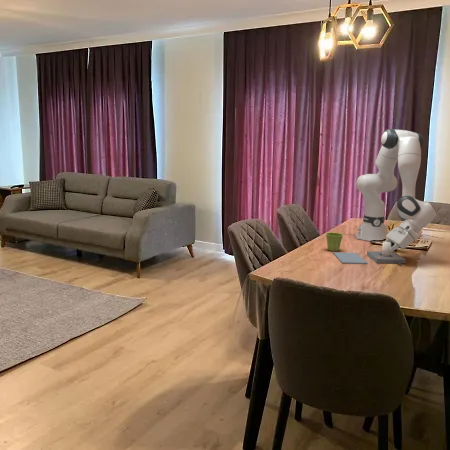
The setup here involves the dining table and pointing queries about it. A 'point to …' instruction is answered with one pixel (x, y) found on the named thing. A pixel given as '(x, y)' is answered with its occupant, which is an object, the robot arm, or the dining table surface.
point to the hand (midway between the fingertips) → (386, 248)
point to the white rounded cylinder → (386, 249)
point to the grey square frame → (379, 259)
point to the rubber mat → (349, 258)
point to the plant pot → (333, 241)
